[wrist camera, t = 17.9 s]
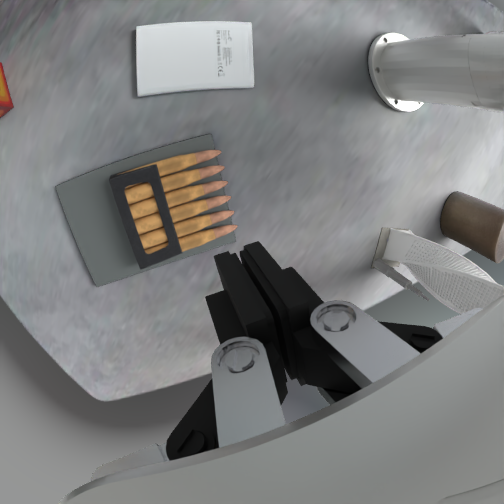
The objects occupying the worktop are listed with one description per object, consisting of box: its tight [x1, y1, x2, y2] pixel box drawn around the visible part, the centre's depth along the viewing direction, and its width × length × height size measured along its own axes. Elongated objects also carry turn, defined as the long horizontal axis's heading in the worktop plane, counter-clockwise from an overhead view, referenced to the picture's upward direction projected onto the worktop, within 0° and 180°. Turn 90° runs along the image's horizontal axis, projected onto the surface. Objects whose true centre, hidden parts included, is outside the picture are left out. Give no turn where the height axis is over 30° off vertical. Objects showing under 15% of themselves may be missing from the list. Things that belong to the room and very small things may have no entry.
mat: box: [56, 134, 236, 287], centre depth 31 cm, size 18×13×1 cm
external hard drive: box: [136, 21, 254, 97], centre depth 26 cm, size 2×8×12 cm
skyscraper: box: [371, 228, 504, 314], centre depth 34 cm, size 8×8×28 cm
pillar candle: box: [440, 191, 504, 263], centre depth 43 cm, size 10×10×15 cm
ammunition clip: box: [109, 150, 237, 270], centre depth 31 cm, size 11×2×12 cm
